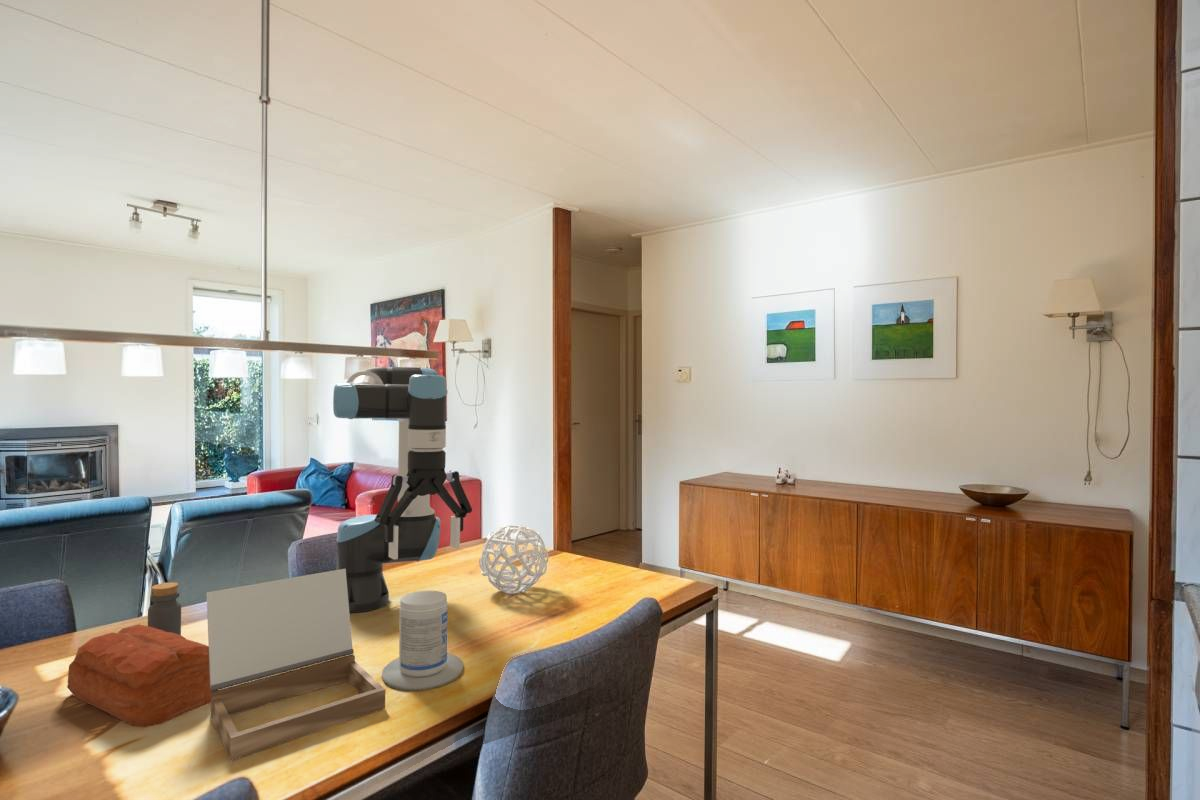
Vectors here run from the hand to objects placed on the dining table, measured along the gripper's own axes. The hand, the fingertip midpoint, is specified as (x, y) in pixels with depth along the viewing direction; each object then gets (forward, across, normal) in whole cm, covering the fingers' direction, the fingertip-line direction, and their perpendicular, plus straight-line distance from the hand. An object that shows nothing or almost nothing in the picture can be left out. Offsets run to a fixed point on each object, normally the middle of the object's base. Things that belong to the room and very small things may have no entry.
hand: (425, 552), depth 125 cm
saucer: (+25, 0, 0) cm, 25 cm away
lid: (+12, -24, +9) cm, 28 cm away
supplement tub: (+24, 0, 0) cm, 24 cm away
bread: (+25, -44, +24) cm, 56 cm away
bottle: (+25, -39, +43) cm, 63 cm away
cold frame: (+25, -24, -1) cm, 34 cm away
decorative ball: (+25, +43, +31) cm, 58 cm away
